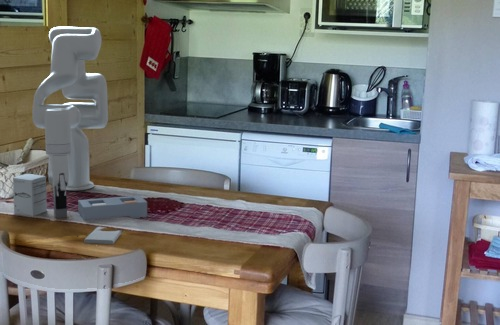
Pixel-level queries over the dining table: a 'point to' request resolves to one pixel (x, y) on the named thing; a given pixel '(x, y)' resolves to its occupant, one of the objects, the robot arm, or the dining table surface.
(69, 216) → the grey flat plate
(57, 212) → the plug
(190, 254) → the dining table surface
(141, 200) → the socket block
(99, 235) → the external hard drive
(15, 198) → the supplement box
